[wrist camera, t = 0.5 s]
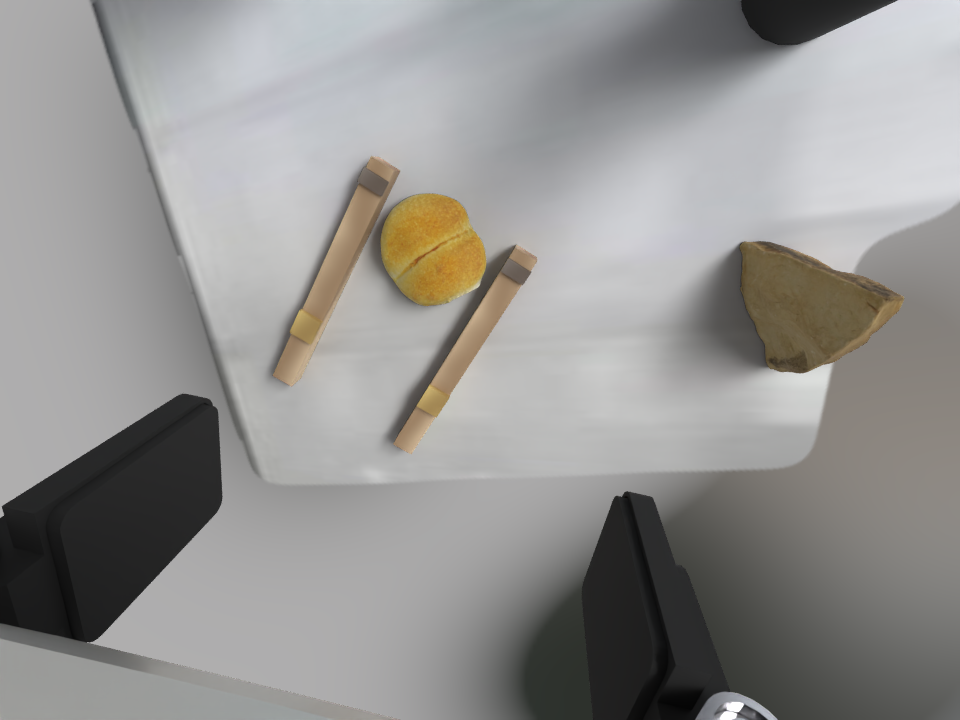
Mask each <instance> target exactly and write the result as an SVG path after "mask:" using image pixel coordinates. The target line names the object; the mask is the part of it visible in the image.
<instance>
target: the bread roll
mask: <svg viewBox="0 0 960 720" xmlns="http://www.w3.org/2000/svg"><path fill="white" fill-rule="evenodd" d="M380 243H381V256H382V261H383V264H384V266H385V269H386V270H387V272H388V274H389V275H390V277H391V278H392V279H393V280H394V282H395V283H396V285H397V286H398V288H399V289H400V290H401V292H402V293H403V294H404V295H405V296H407V297H408V298H409V299H411V300H412V301H413V302H415V303H417V304H419V305H423V306H430V305H442V304H446V303H449V302H450V301H452V300H454V299H456V298H458V297H460V296H462V295H464V294H466V293H469V292H471V291H472V290H474V289H476V288H478V287H479V286H480V283H481V279H482V276H483V274H484V272H485V269H486V255H485V249H484V246H483V243H482V241H481V240H480V238H479V237H478V235H477V234H476V233H475V231H474V230H473V228H472V226H471V225H470V222H469V218H468V215H467V213H466V211H465V209H464V208H463V207H462V205H461V204H460V203H459V202H457V201H456V200H454V199H452V198H449V197H447V196H443V195H438V194H418V195H413V196H410V197H408V198H406V199H404V200H403V201H402V202H400V203H399V204H398V205H396V206H395V207H394V208H393V209H392V211H391V212H390V213H389V215H388V217H387V218H386V220H385V223H384V226H383V229H382V234H381V239H380Z"/></svg>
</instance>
